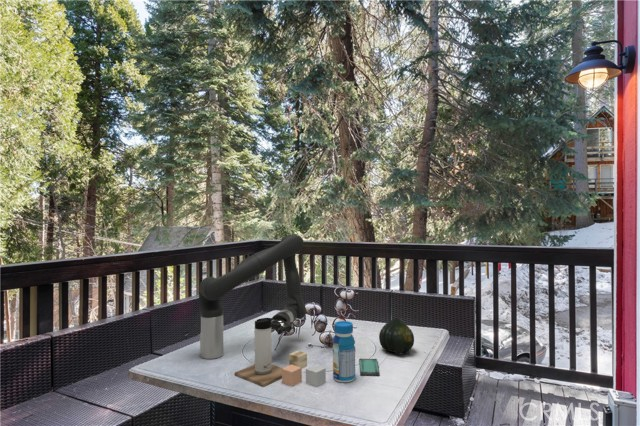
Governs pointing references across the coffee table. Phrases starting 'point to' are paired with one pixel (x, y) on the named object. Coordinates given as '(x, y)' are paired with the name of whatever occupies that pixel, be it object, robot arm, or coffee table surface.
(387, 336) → the squash
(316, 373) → the grey block
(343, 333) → the beverage bottle
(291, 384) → the terracotta block
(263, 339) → the travel mug
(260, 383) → the walnut board
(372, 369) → the smartphone
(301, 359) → the birch block
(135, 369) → the coffee table surface
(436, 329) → the coffee table surface
